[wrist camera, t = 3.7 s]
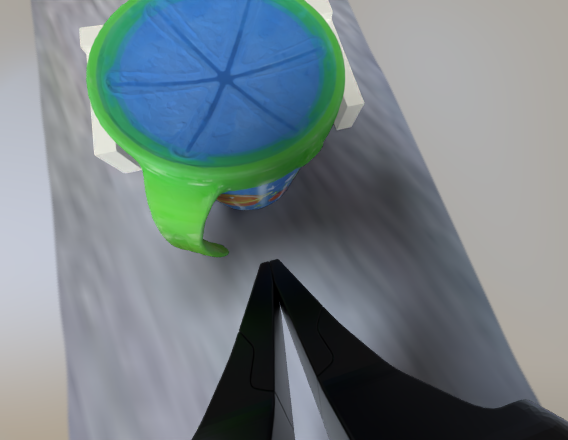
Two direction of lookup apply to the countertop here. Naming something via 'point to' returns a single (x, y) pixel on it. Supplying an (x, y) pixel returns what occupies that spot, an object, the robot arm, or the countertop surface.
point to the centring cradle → (126, 163)
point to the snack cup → (215, 102)
